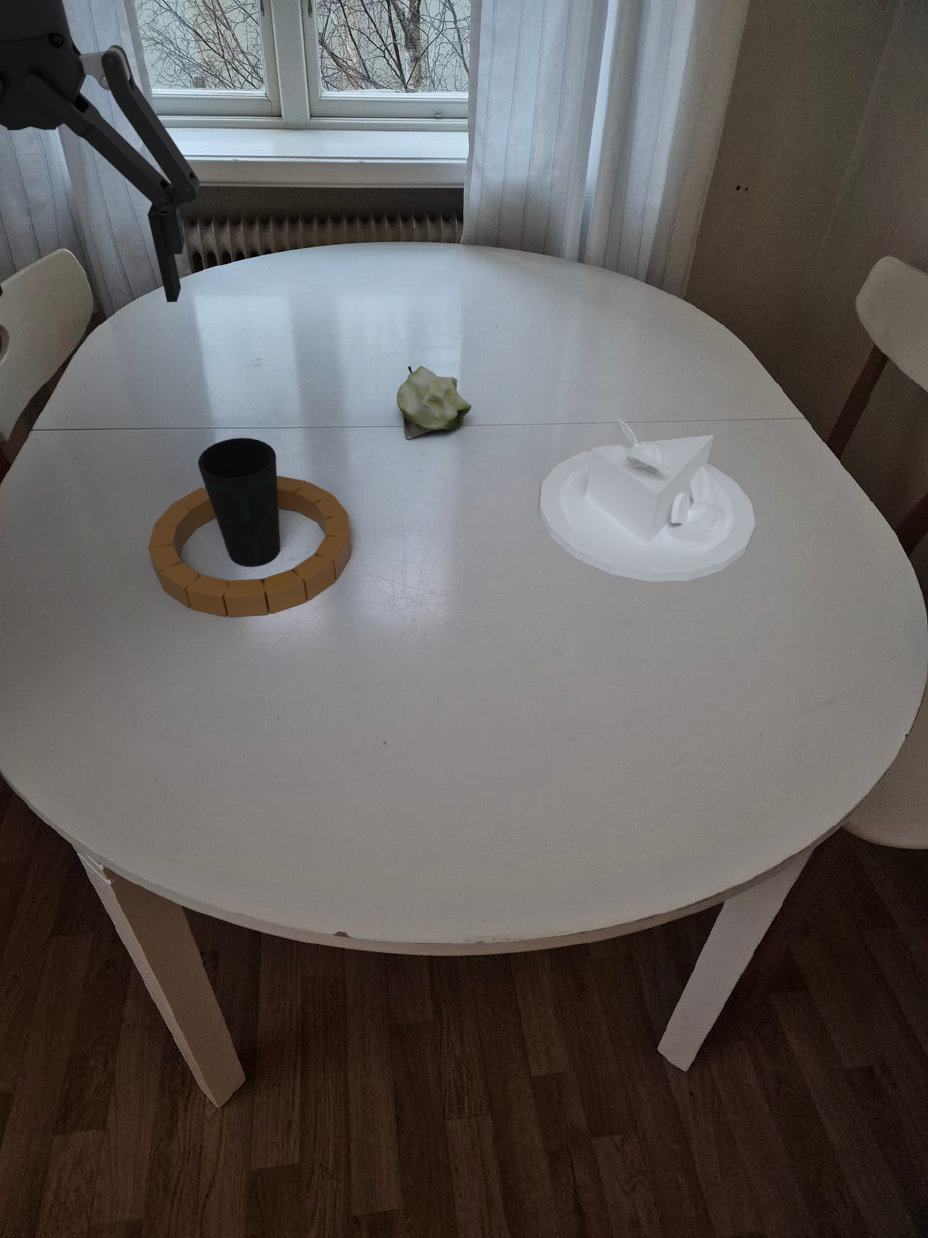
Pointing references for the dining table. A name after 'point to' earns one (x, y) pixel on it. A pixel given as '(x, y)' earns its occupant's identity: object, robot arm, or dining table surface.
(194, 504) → the orange-brown segmented ring
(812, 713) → the dining table surface
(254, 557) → the cup
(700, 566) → the dish
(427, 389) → the fruit
